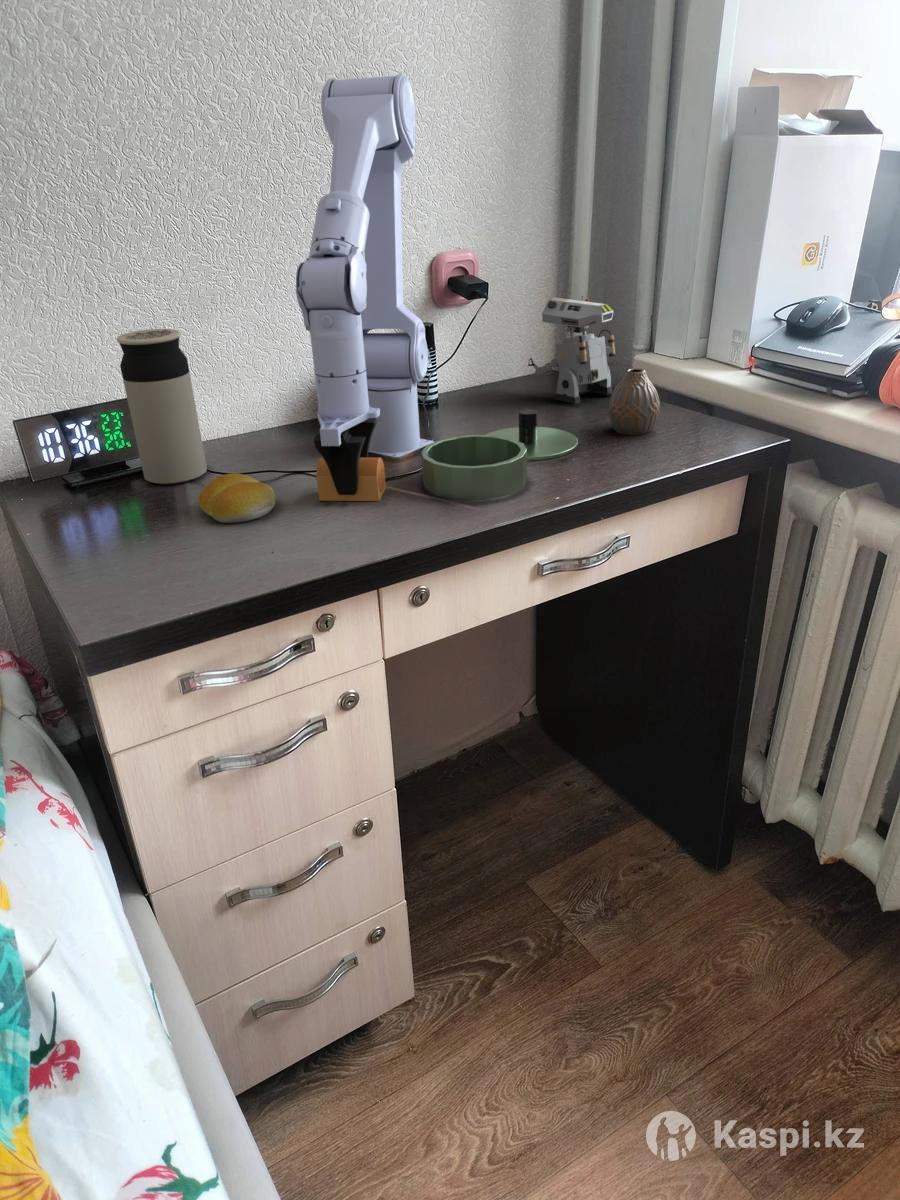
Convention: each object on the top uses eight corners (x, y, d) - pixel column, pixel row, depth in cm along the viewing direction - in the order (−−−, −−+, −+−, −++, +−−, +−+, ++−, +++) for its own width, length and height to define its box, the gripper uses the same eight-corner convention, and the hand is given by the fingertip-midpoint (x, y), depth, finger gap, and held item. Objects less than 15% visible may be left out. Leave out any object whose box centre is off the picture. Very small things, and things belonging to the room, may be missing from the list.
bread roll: (227, 531, 96) (221, 497, 95) (191, 510, 103) (185, 478, 101) (291, 510, 101) (287, 477, 99) (253, 491, 107) (248, 460, 105)
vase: (665, 429, 122) (669, 367, 118) (647, 443, 117) (651, 378, 113) (619, 424, 126) (622, 362, 122) (599, 437, 121) (601, 373, 117)
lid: (458, 454, 116) (456, 417, 114) (513, 429, 126) (513, 394, 123) (543, 471, 109) (544, 432, 107) (595, 443, 118) (597, 406, 116)
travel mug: (219, 473, 114) (194, 332, 106) (165, 490, 109) (135, 343, 101) (186, 461, 119) (160, 325, 111) (133, 477, 114) (101, 336, 106)
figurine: (565, 385, 146) (567, 292, 139) (619, 397, 139) (624, 298, 132) (527, 396, 141) (527, 300, 134) (581, 409, 133) (584, 307, 126)
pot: (403, 491, 105) (400, 456, 103) (464, 462, 114) (462, 429, 112) (487, 511, 98) (486, 474, 96) (545, 478, 107) (545, 444, 105)
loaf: (319, 500, 102) (314, 464, 100) (327, 488, 106) (323, 452, 104) (379, 501, 101) (375, 464, 99) (385, 488, 105) (383, 452, 103)
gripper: (361, 387, 90) (372, 509, 96) (387, 356, 103) (396, 466, 109) (295, 388, 91) (310, 509, 97) (329, 357, 104) (341, 466, 110)
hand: (351, 486), depth 103 cm, fingers closed on loaf, 4 cm apart
